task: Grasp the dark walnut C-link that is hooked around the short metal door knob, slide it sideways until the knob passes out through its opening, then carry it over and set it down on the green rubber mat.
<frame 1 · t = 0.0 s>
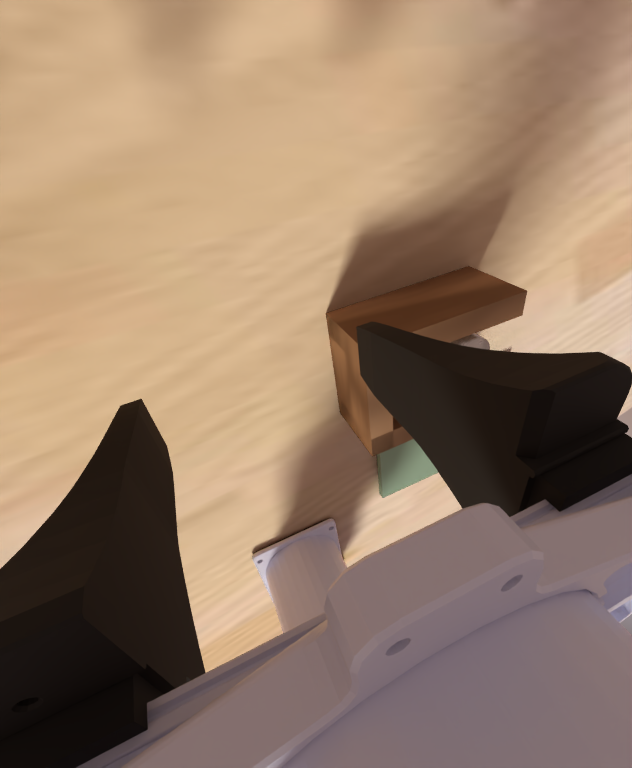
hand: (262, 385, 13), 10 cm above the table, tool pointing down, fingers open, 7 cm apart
metal door knob: (435, 330, 28), on the table
green rubber mat: (439, 427, 35), on the table
walnut C-link: (406, 341, 28), on the table
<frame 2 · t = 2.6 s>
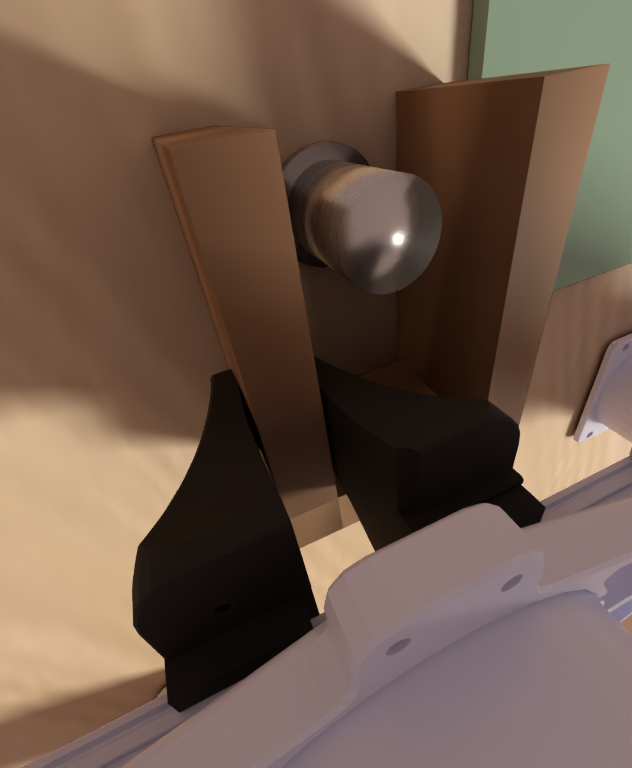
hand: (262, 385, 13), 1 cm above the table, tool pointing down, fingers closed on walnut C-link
metal door knob: (323, 207, 12), on the table
green rubber mat: (593, 108, 13), on the table
walnut C-link: (332, 284, 13), on the table, touching gripper
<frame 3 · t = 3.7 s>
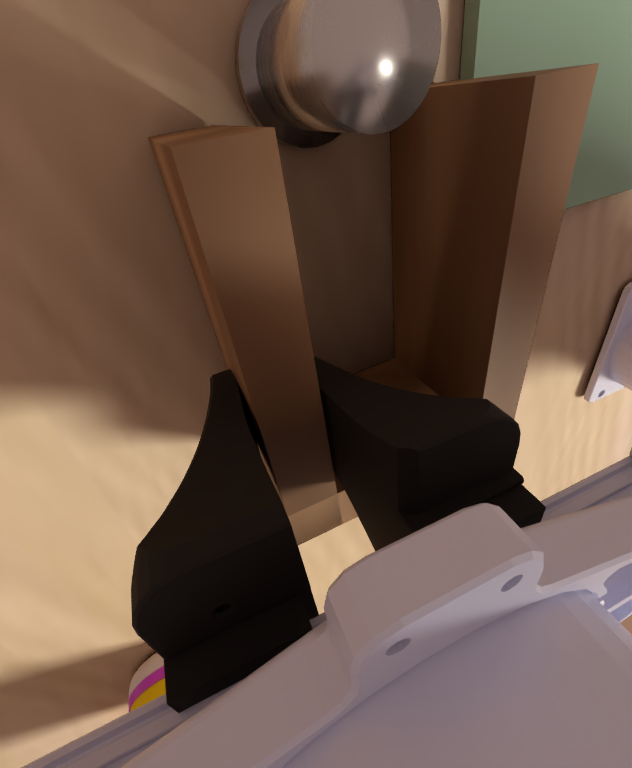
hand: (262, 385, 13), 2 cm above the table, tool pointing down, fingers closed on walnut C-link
metal door knob: (301, 69, 10), on the table
supplement bottle: (189, 656, 23), on the table
walnut C-link: (328, 283, 13), on the table, touching gripper
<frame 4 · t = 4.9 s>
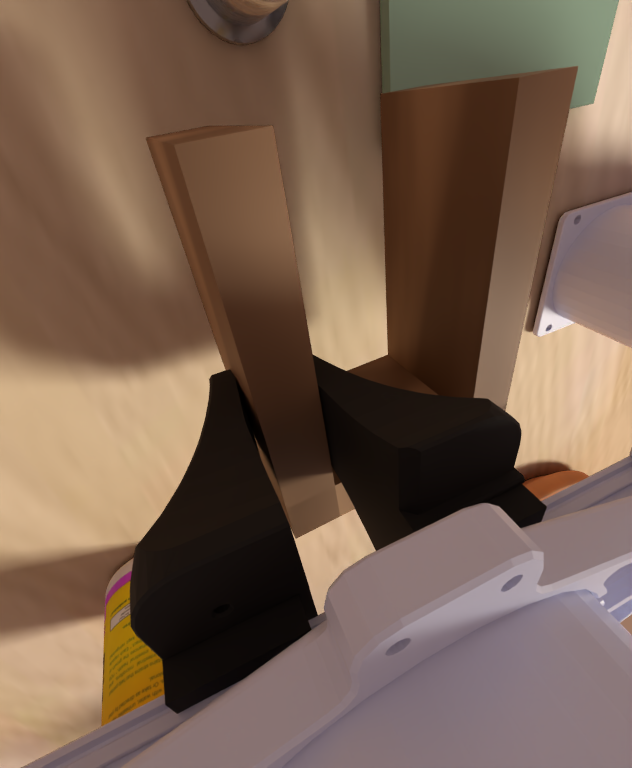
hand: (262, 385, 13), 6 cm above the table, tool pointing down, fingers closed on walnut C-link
supplement bottle: (163, 571, 25), on the table
walnut C-link: (322, 280, 14), point 4 cm above the table, touching gripper
saucer: (497, 533, 45), on the table
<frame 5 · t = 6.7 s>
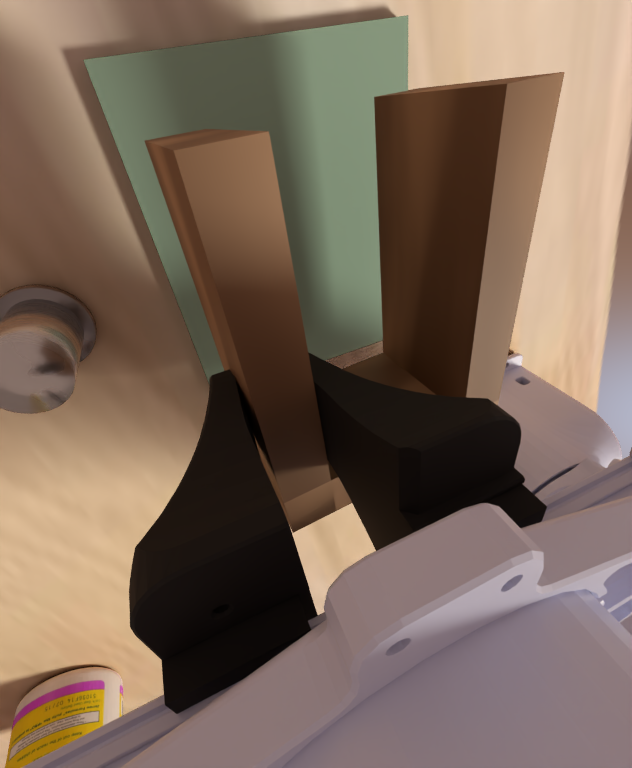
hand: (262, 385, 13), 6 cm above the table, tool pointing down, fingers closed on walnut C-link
metal door knob: (46, 327, 15), on the table
green rubber mat: (291, 235, 17), on the table
supplement bottle: (73, 686, 29), on the table
walnut C-link: (318, 279, 14), point 4 cm above the table, touching gripper
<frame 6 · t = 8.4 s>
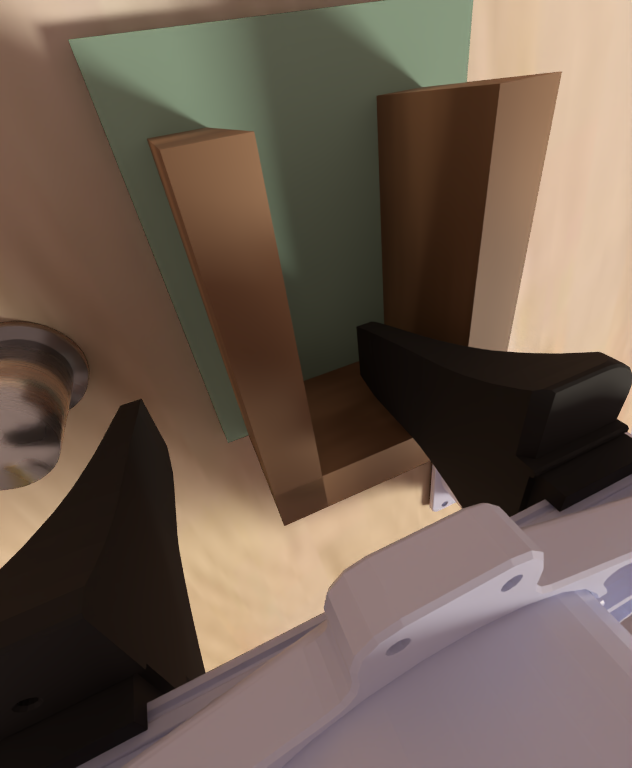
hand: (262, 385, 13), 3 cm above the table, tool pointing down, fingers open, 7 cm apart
metal door knob: (28, 370, 12), on the table
green rubber mat: (320, 255, 14), on the table
walnut C-link: (319, 277, 14), point 1 cm above the table, touching green rubber mat
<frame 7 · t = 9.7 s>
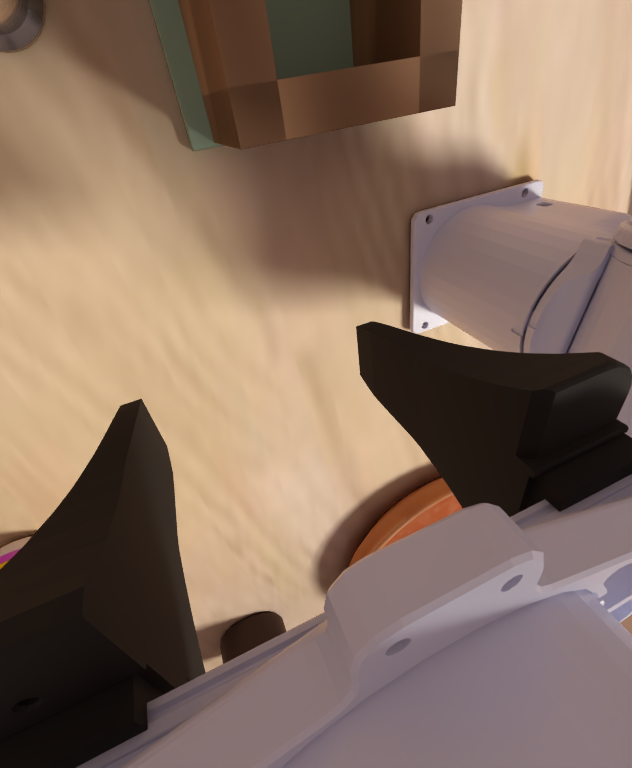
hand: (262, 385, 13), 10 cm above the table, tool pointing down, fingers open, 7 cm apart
supplement bottle: (44, 560, 26), on the table
vinegar: (251, 628, 41), on the table
saucer: (425, 529, 45), on the table
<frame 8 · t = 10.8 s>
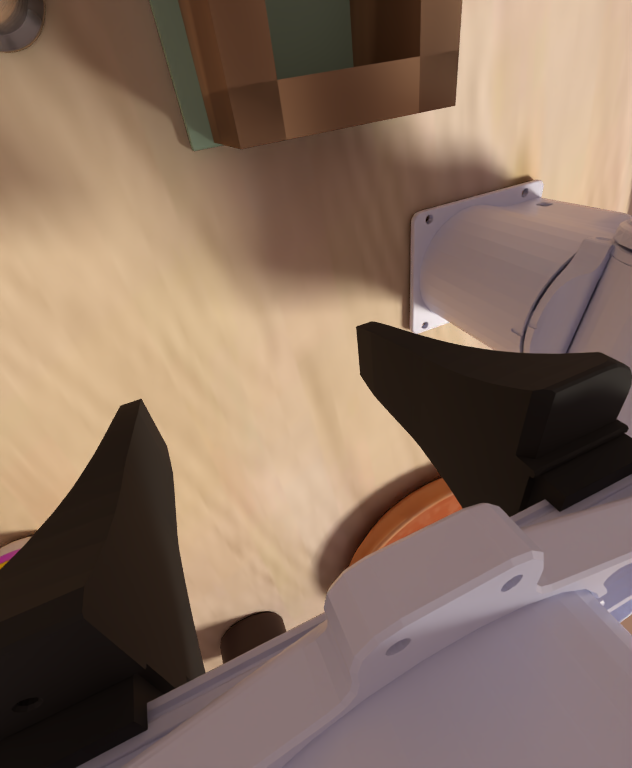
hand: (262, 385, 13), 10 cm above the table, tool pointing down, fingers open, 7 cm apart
supplement bottle: (44, 560, 26), on the table
vinegar: (251, 628, 41), on the table
saucer: (425, 529, 45), on the table
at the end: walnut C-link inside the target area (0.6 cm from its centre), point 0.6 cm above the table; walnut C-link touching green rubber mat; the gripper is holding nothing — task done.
